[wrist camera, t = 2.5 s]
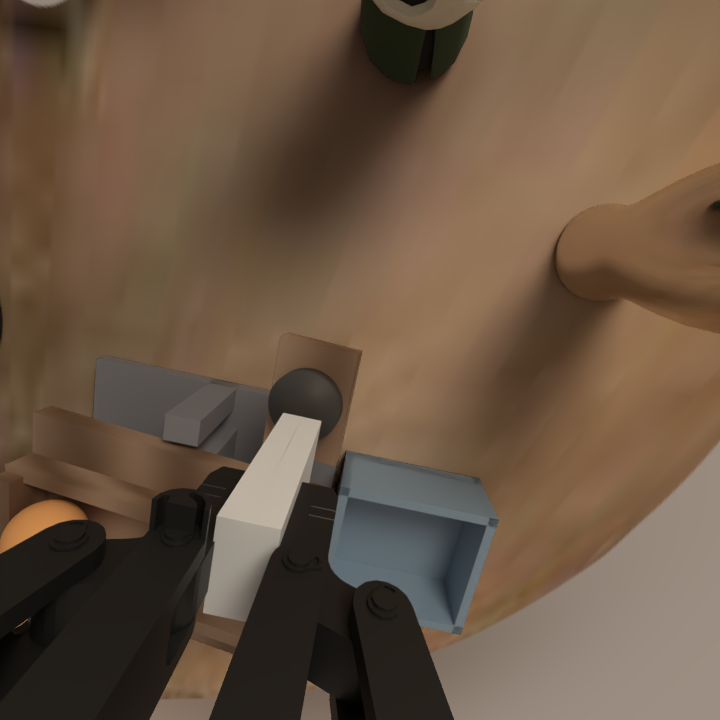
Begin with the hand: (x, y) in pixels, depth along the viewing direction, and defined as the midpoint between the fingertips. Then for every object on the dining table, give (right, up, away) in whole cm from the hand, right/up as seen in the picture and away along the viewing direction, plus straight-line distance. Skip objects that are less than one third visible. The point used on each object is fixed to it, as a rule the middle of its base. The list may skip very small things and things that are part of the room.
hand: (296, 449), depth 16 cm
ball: (-15, -6, +7) cm, 18 cm away
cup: (+5, -9, +16) cm, 19 cm away
